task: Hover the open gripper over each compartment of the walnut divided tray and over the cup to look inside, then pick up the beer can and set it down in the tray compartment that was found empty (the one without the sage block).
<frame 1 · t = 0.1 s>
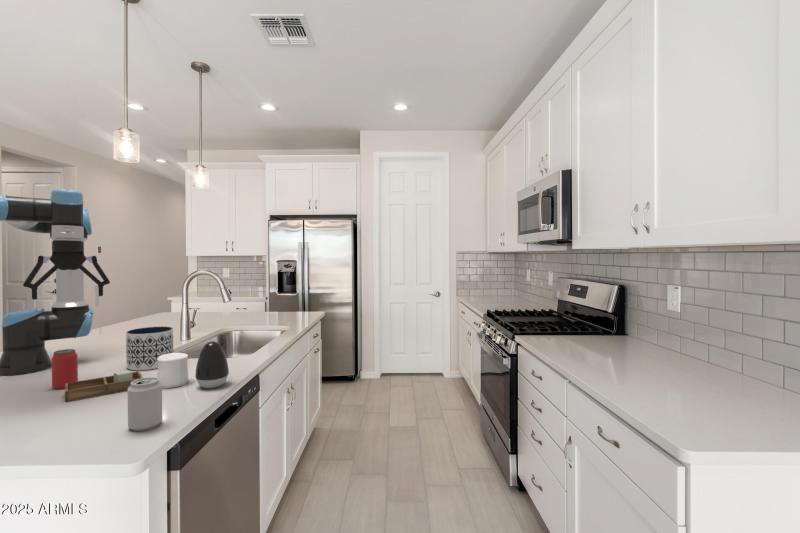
hand: (69, 308, 119), 28 cm above the table, fingers open, 13 cm apart
sage block: (123, 384, 129), point 1 cm above the table, touching tray
egg shaped speaker: (212, 386, 131), on the table
tray: (105, 390, 126), on the table
cup: (172, 384, 132), on the table
beer can: (65, 386, 130), on the table
can: (145, 426, 100), on the table
planter: (150, 365, 155), on the table
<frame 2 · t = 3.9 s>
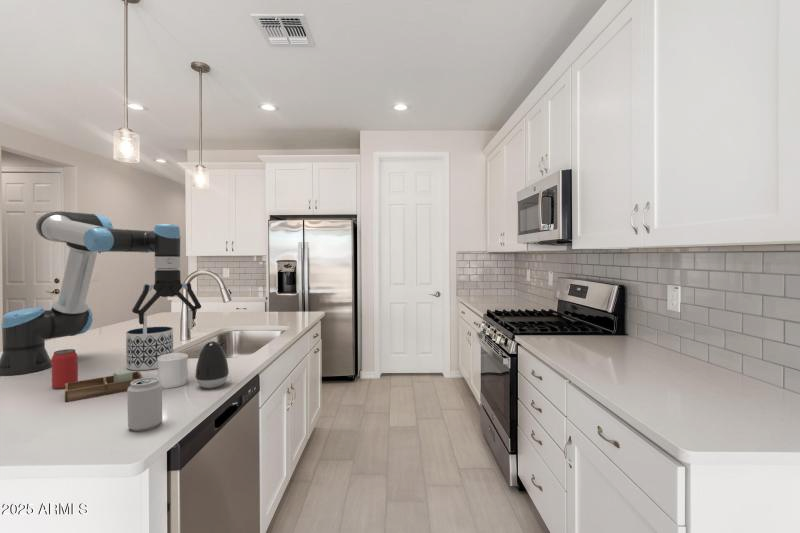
hand: (168, 331, 132), 18 cm above the table, fingers open, 13 cm apart
nothing on the table moved.
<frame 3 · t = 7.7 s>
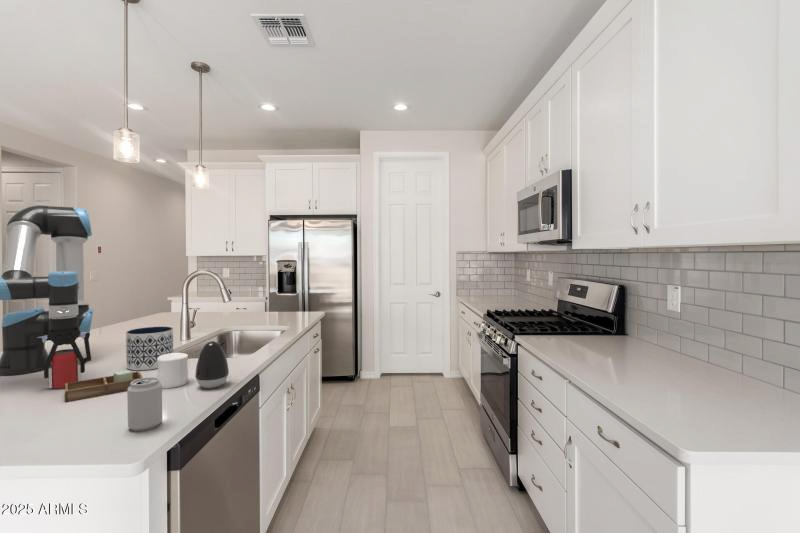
hand: (65, 384, 130), 1 cm above the table, fingers closed on beer can, 7 cm apart
beer can: (65, 386, 130), on the table, touching gripper
everything else where it was.
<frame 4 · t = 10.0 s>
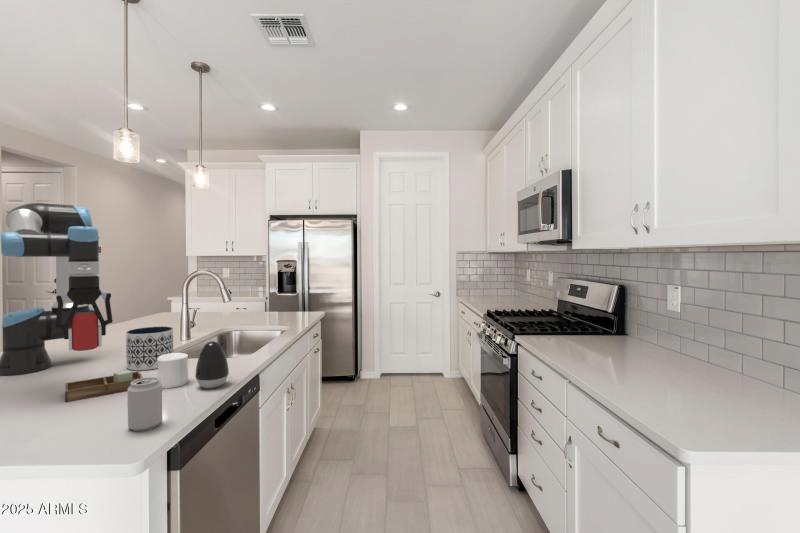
hand: (85, 347, 122), 15 cm above the table, fingers closed on beer can, 7 cm apart
beer can: (85, 349, 122), point 14 cm above the table, touching gripper
everything else where it was.
when the fingers open (4 cm above the table, at t = 12.3 s): beer can drops 2 cm, resting on tray.
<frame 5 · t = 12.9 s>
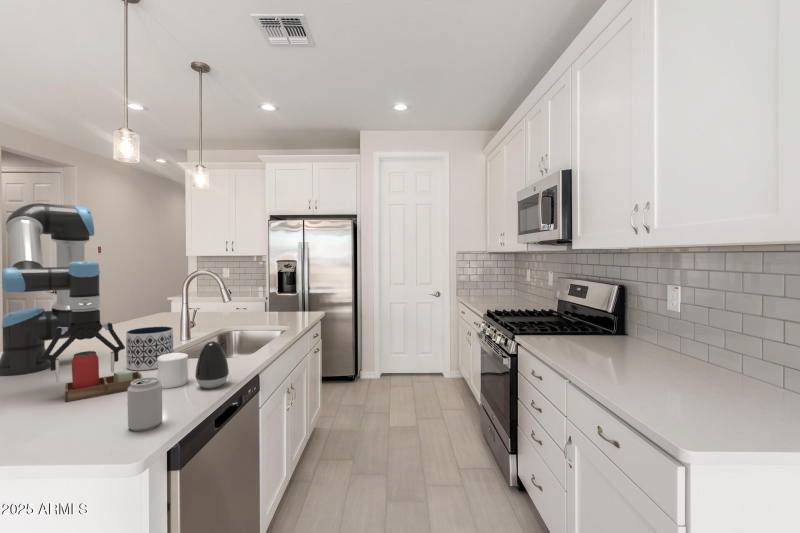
hand: (86, 376, 123), 6 cm above the table, fingers open, 13 cm apart
beer can: (86, 390, 123), point 1 cm above the table, touching tray
everything else where it was.
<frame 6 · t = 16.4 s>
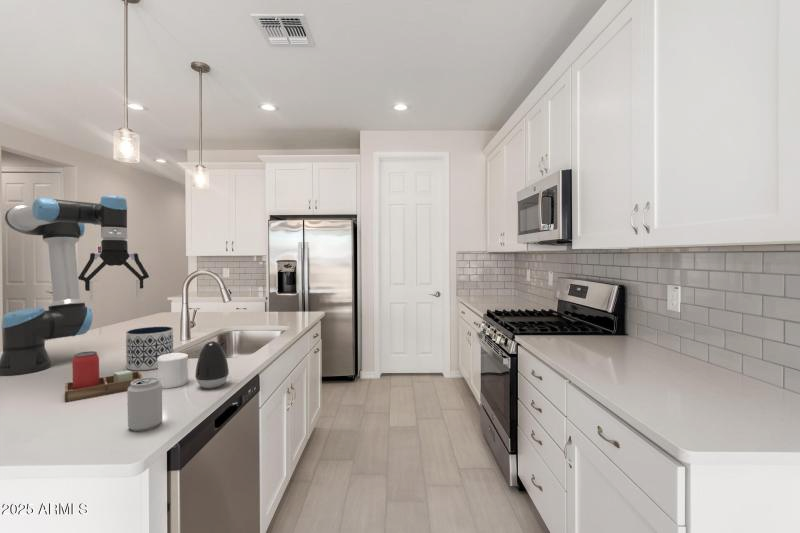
hand: (115, 299, 138), 29 cm above the table, fingers open, 13 cm apart
nothing on the table moved.
at the end: beer can inside the target area on the tray (0.0 cm from its centre), point 0.8 cm above the tray's base; beer can tilted 0°; sage block moved 0.2 cm from its start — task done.
